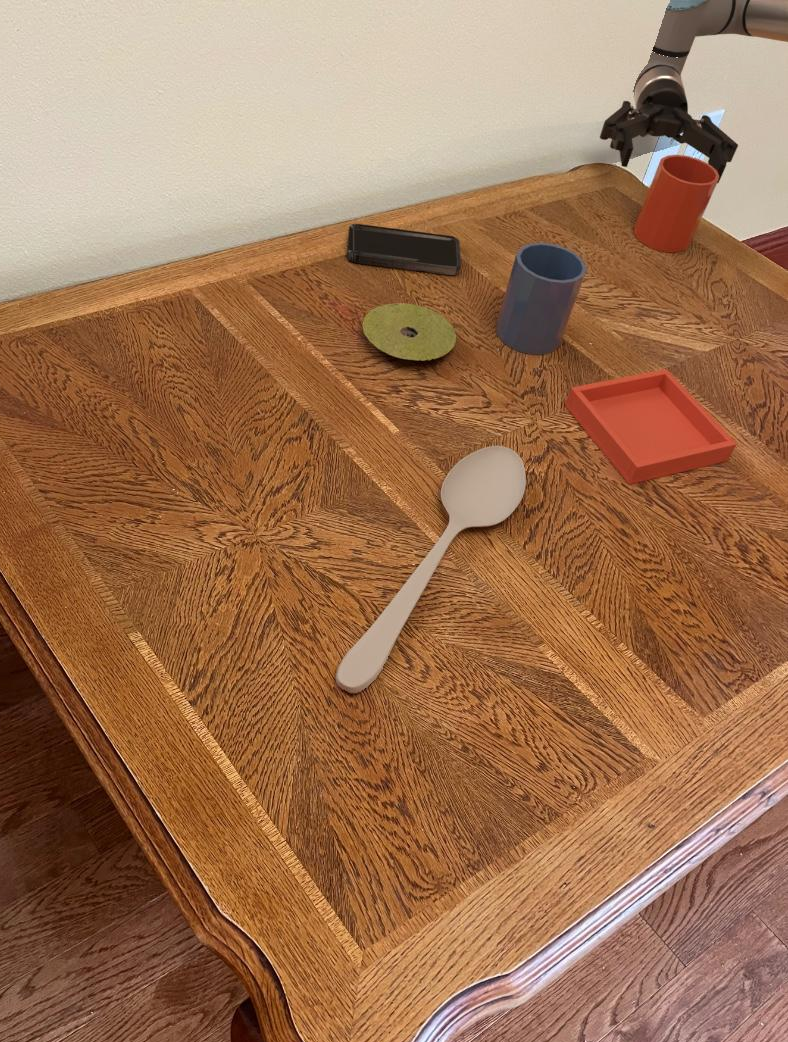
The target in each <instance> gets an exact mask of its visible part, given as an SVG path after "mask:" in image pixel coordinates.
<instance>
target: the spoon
mask: <svg viewBox="0 0 788 1042" xmlns="http://www.w3.org/2000/svg"><path fill="white" fill-rule="evenodd" d="M526 475H527V474H526V469H525V465H524V462H523V460H522V458H521V457H520V455H519V454H518V452H516V450H515V451H514V450H513V449H512V448H509V447H507V446H503V445H492V446H486V447H484V448H480V449H478V450H476V451H473V452H471V453H469V454H468V455H466V456H464V457H463V458H461V459H460V460H459V461H458V462H456V463H455V464H454V465H453V466H452V467H451V469H450V470H449V471H448V473H447V474H446V476H445V478H444V479H443V482H442V485H441V488H440V499H441V503H442V506H443V507H444V509H445V511H446V512H447V514H448V516H449V521H448V523H447V526H446V528H445V530H444V531H443V533H442V534H441V536H440V537H439V538H438V540H437V541H436V543H435V544H434V545H433V547H432V548H431V549H430V551H429V552H428V553H427V554H426V556H425V557H424V559H422V561H421V562H420V563H419V565H418V566H417V567H416V569H414V571H413V572H412V573H411V574H410V576H409V577H408V579H406V581H405V582H404V584H403V585H402V587H401V588H400V589H399V590H398V592H397V593H396V594H395V595H394V597H393V598H392V600H391V601H390V602H389V603H388V605H387V606H386V607H385V609H384V610H383V611H382V612H381V613H380V615H379V616H378V617H377V619H376V620H375V621H374V622H373V624H372V625H370V627H369V628H368V629H367V630H366V632H365V633H364V634H363V635H362V636H361V637H360V638H359V639H358V640H357V641H356V642H355V643H354V644H353V645H352V646H351V648H349V650H348V651H347V652H346V653H345V654H344V656H343V658H342V659H341V661H340V663H339V665H338V667H337V668H336V669H337V670H336V673H335V683H336V685H337V686H338V687H339V688H340V689H341V690H343V691H344V690H345V691H344V692H346V691H347V693H349V694H359V693H361V691H362V690H363V691H365V690H366V689H368V688H369V687H370V686H371V685H372V684H373V683H374V682H375V681H376V679H377V678H378V677H379V676H380V674H381V673H382V671H383V669H384V668H383V666H384V664H385V663H387V661H388V659H389V657H390V655H391V653H390V652H392V651H393V648H394V646H395V644H396V643H397V640H398V638H399V636H400V634H401V632H402V630H403V628H404V627H405V625H406V623H407V621H408V620H409V618H410V616H411V614H412V612H413V610H414V609H415V607H416V605H417V603H418V602H419V601H420V600H419V599H420V598H421V597H422V595H423V593H424V591H425V589H426V588H427V585H428V584H429V582H430V580H431V578H432V577H433V575H434V573H435V571H436V570H437V568H438V566H439V564H440V563H441V561H442V559H443V557H444V555H445V554H446V552H447V550H448V548H449V547H450V545H451V543H452V542H453V541H454V539H455V538H456V537H457V536H458V535H459V534H460V533H461V532H462V531H463V530H466V529H468V528H487V527H493V526H496V525H499V524H500V523H503V522H504V521H506V520H507V519H508V518H509V517H510V516H511V515H512V514H513V513H514V511H516V509H517V507H518V506H519V505H520V503H521V501H522V500H523V497H524V494H525V491H526V484H527V476H526ZM388 656H389V657H388ZM386 660H387V661H386ZM385 665H386V664H385ZM384 667H385V666H384ZM381 670H382V671H381ZM380 672H381V673H380ZM379 673H380V674H379ZM378 675H379V676H378ZM377 676H378V677H377ZM374 680H375V681H374ZM373 681H374V682H373ZM372 682H373V683H372ZM371 683H372V684H371ZM370 684H371V685H370ZM369 685H370V686H369ZM368 686H369V687H368ZM365 688H366V689H365ZM364 689H365V690H364ZM363 691H362V692H363ZM358 692H359V693H358Z"/></svg>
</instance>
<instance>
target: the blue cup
mask: <svg viewBox="0 0 788 1042" xmlns="http://www.w3.org/2000/svg"><path fill="white" fill-rule="evenodd" d="M587 269H588V268H587V265H586V263H585V261H584V260H583V258H582V257H581V256H580V255H579V254H577V253H575V251H572V250H571V249H569V248H567V247H565V246H561V245H558V244H555V243H549V242H533V243H527V244H526V245H523V246H521V247H520V248H519V249H518V251H517V252H516V255H515V257H514V261H513V264H512V268H511V271H510V275H509V278H508V282H507V286H506V288H505V293H504V296H503V299H502V302H501V307H500V310H499V313H498V317H497V321H496V325H495V326H496V327H495V332H496V335H497V337H498V338H499V339H500V341H501V342H502V343H504V344H505V345H506V346H507V347H509V348H511V349H513V350H514V351H517V352H519V353H523V354H527V355H537V356H538V355H541V356H542V355H546V354H547V355H548V354H550V353H552V352H554V351H557V349H558V348H559V347H560V345H561V343H562V339H563V338H564V335H565V333H566V329H567V326H568V324H569V321H570V318H571V315H572V313H573V309H574V307H575V304H576V301H577V298H578V295H579V293H580V290H581V286H582V284H583V282H584V278H585V276H586V274H587Z"/></svg>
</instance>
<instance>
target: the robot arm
mask: <svg viewBox="0 0 788 1042" xmlns="http://www.w3.org/2000/svg"><path fill="white" fill-rule="evenodd" d="M717 35H739V36H745V37H751V38H752V37H753V38H754V37H755V38H761V39H767V40H771V41H772V40H773V41H780V42H786V43H788V0H670V3H669V4H668V6H667V8H666V11H665V15H664V18H663V20H662V24H661V27H660V29H659V33H658V36H657V39H656V42H655V45H654V47H653V50H652V51H653V52H652V53H651V55H650V59H649V61H648V64H647V65H646V66H645V67H644V69H643V70H642V71H641V73H640V74H639V76H638V78H637V80H636V83H635V86H634V90H633V91H632V93H633V92H634V96H633V100H634V105H635V107H634V106H633V105H632V103H631V101H629V100H623V101H622V105H621V107H620V108H619V109H617V110H616V111H615V112H614V113H612V114H611V115H610V116H609V117H607V118H606V119H605V120H604V123H603V125H602V129H601V131H600V135H599V139H600V140H603V141H607V140H608V139H610V145H609V148H610V149H612V150H615V151H619V156H620V157H619V158H620V164H621V167H624V168H628V166H629V165H628V164H629V163H630V159H631V157H632V154H633V151H634V143H633V139H634V138H637V137H639V136H640V137H642V138H643V137H646V136H652V137H656V138H657V137H666V138H669V139H673V140H674V141H675V142H677V143H679V144H680V145H683V144H687V145H689V146H690V147H692V148H693V149H694V150H696V151H698V152H699V153H701V154H702V155H704V156H705V157H707V158H708V161H707V163H708V164H710V165H711V166H712V167H713V168H714V169H716V170H717V172H718V174H719V179H718V182H717V184H719V183H720V180H721V179H722V176H723V174H724V172H725V170H726V167H727V163H731V162H732V161H733V158H734V156H735V154H736V152H737V150H738V147H739V144H738V143H737V142H736V141H735V140H733V139H732V138H731V137H730V136H729V135H728V134H726V133H725V132H724V131H723V130H722V129H721V128H719V126H717V125H716V124H715V123H713V121H712V119H711V117H710V116H709V115H707V114H702V116H701V118H700V119H694V118H693V117H692V115H691V114H689V104H688V99H687V96H686V90H685V87H684V83H683V79H682V76H681V75H682V72H683V69H684V67H685V64H686V61H687V59H688V56H689V54H690V52H691V49H692V46H693V45H694V42H695V39H696V38H698V37H708V36H709V37H710V36H717ZM654 52H655V53H654ZM659 54H660V55H659ZM663 55H664V56H663ZM667 56H668V57H667ZM676 57H678V58H676Z"/></svg>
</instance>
